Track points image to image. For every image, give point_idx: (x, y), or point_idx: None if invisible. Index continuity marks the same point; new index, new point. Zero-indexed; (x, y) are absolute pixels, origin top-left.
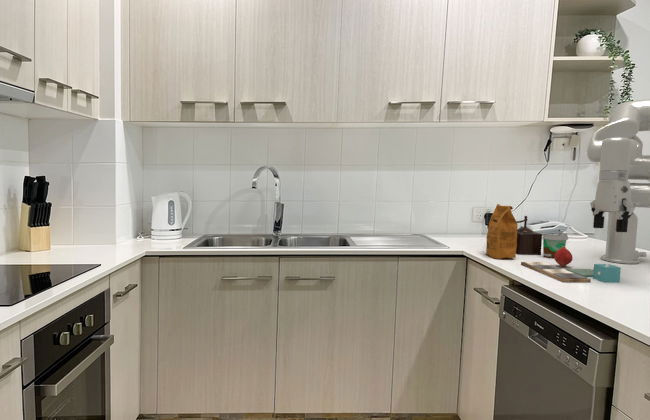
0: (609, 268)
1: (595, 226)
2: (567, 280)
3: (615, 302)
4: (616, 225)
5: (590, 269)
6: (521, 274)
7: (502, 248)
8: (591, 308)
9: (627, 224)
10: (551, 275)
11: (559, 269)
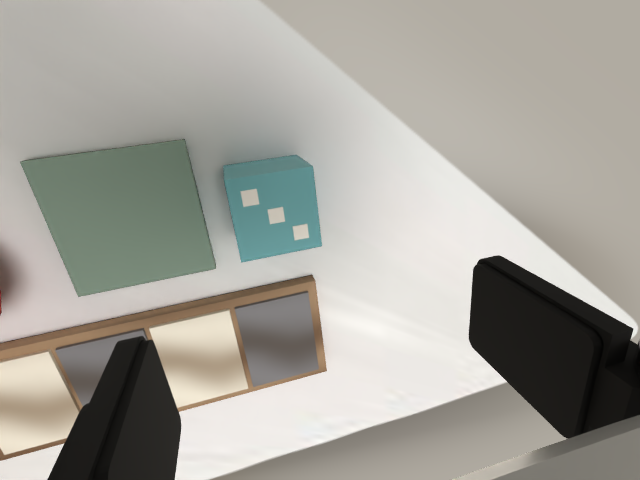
0: (318, 224)
1: (180, 433)
2: (324, 356)
3: None
4: (519, 386)
5: (43, 168)
6: (227, 458)
7: None
8: None
9: (564, 293)
10: (256, 387)
11: (161, 347)
